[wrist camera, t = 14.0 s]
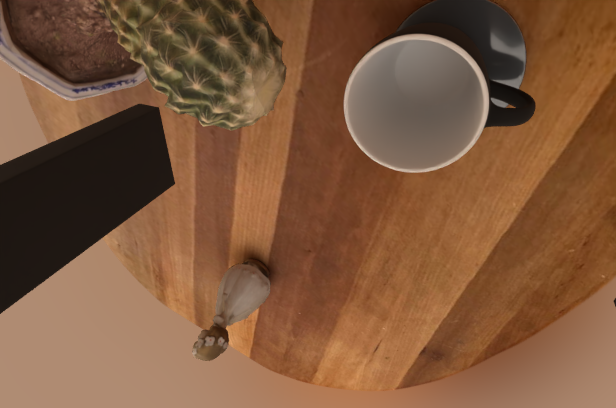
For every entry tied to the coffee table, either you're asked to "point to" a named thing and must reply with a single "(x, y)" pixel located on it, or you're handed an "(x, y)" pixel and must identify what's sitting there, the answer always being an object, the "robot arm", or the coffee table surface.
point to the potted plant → (150, 52)
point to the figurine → (233, 305)
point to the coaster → (482, 35)
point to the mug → (426, 99)
